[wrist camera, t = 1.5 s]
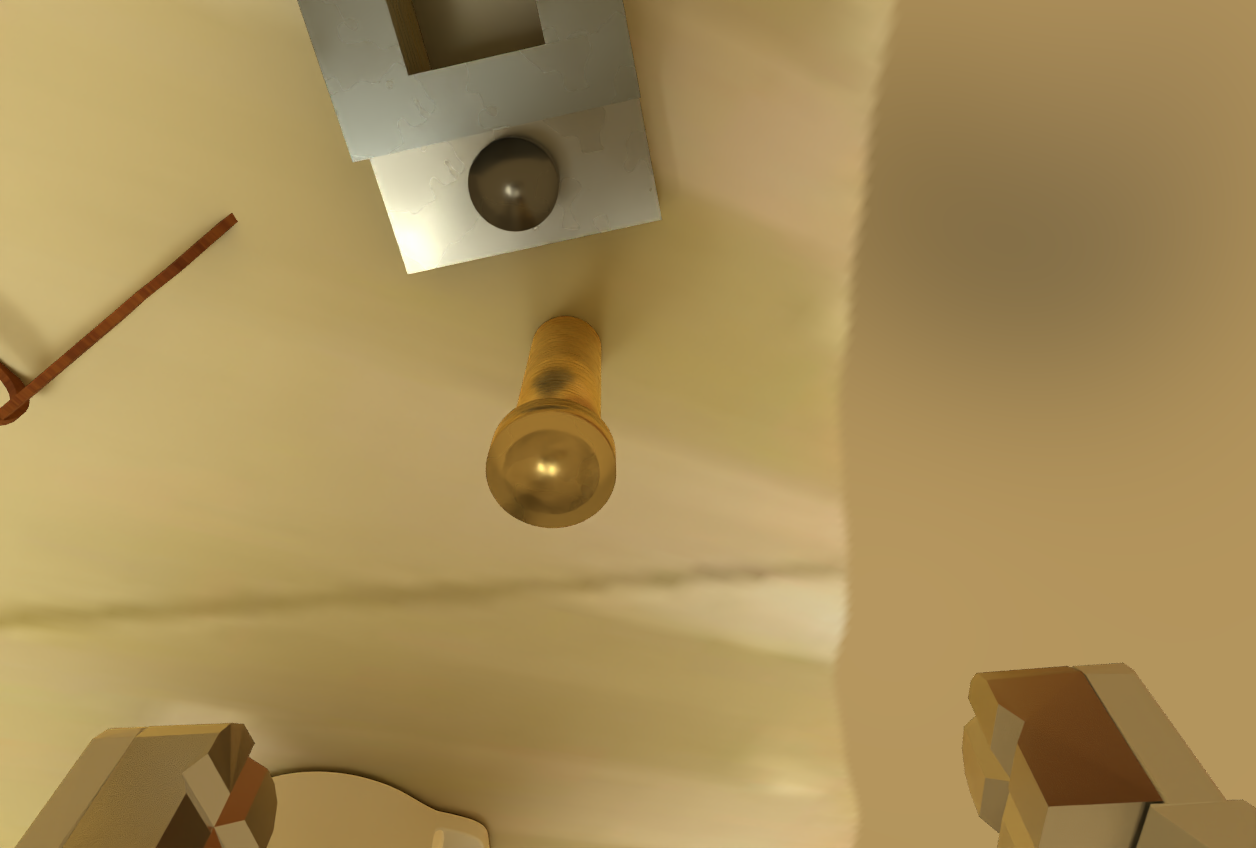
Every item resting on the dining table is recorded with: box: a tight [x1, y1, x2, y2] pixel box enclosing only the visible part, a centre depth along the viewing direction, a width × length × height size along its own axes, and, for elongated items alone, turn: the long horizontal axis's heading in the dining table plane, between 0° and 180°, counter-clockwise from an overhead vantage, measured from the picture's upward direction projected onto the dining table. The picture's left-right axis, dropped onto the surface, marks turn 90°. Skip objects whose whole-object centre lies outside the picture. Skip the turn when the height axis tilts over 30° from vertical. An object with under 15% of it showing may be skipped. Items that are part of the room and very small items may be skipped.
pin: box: [486, 316, 616, 528], centre depth 30 cm, size 4×4×11 cm
